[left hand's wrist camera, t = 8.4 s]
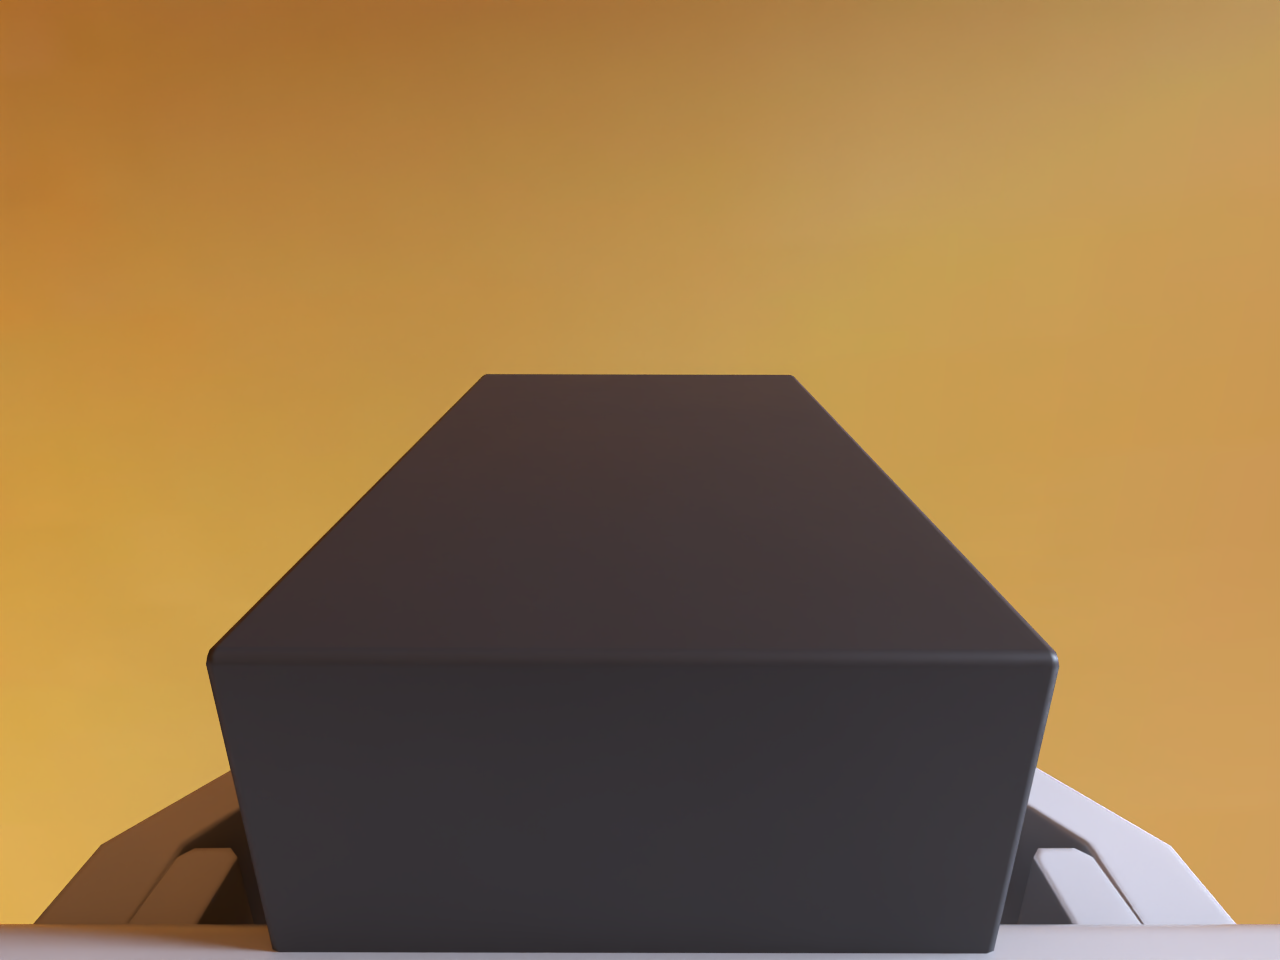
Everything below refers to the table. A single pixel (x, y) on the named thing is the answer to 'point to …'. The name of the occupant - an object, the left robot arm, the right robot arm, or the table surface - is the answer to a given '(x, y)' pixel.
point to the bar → (633, 692)
